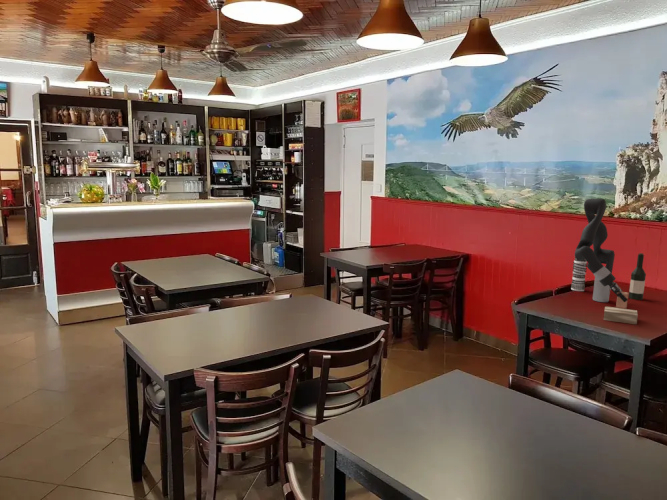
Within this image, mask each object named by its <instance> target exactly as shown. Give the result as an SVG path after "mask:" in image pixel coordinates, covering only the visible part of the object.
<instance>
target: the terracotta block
mask: <svg viewBox="0 0 667 500" xmlns="http://www.w3.org/2000/svg"><path fill="white" fill-rule="evenodd" d="M621 293H623V295H624V296H625V297H626V298H627V301H626V302H624V301H623V300H622V299H621V298H620V297H618V296H617V295H616V303H615V304H616V305H615V308H622V309H628V308H627V307H628V300H629V291H628V292H626V291H623V292H621ZM618 294H619V292H618Z"/></svg>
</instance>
